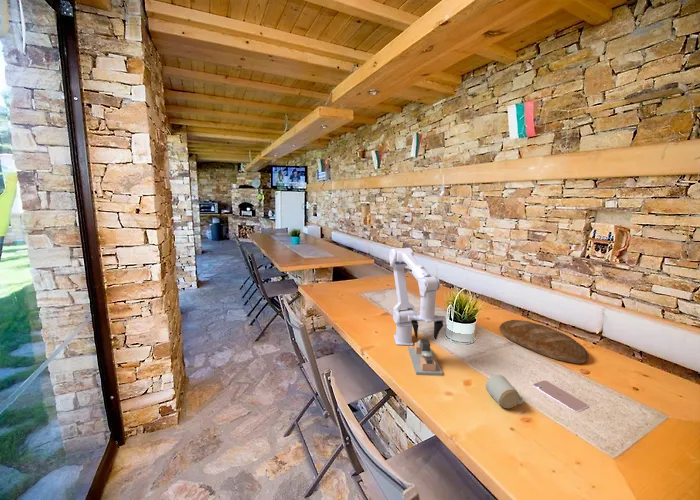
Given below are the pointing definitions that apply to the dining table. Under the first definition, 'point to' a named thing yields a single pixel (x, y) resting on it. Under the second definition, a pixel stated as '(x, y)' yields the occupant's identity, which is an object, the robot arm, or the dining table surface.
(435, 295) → the robot arm
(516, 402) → the ceramic mug
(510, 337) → the bread
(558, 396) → the mobile phone
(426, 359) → the stacked ball block column
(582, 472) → the dining table surface
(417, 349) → the display stand
